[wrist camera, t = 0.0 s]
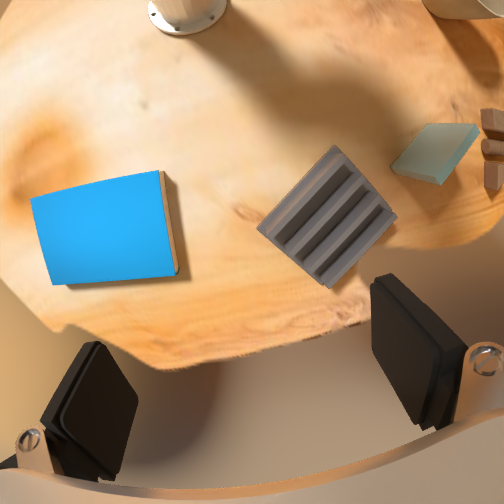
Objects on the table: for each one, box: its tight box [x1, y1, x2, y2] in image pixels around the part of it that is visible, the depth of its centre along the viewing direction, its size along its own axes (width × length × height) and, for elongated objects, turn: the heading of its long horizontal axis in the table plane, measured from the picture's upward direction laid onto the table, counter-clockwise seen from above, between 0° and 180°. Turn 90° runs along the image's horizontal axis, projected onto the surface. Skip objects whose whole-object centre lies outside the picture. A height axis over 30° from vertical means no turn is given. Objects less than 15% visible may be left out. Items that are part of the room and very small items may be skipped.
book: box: [30, 170, 179, 285], centre depth 44 cm, size 17×4×25 cm
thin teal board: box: [390, 123, 480, 186], centre depth 37 cm, size 2×12×13 cm, turn 138°
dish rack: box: [256, 145, 398, 289], centre depth 44 cm, size 15×18×5 cm
